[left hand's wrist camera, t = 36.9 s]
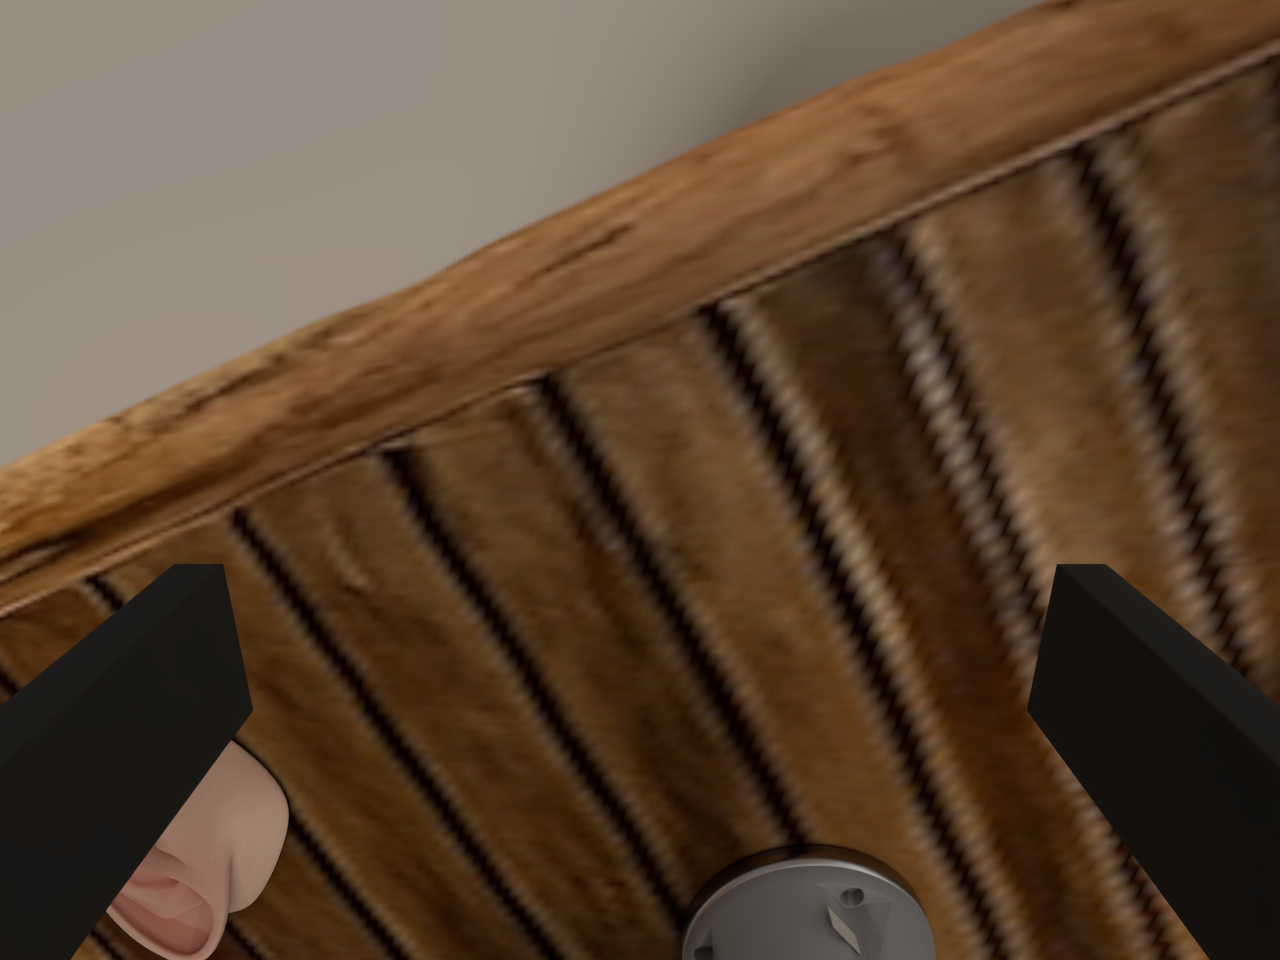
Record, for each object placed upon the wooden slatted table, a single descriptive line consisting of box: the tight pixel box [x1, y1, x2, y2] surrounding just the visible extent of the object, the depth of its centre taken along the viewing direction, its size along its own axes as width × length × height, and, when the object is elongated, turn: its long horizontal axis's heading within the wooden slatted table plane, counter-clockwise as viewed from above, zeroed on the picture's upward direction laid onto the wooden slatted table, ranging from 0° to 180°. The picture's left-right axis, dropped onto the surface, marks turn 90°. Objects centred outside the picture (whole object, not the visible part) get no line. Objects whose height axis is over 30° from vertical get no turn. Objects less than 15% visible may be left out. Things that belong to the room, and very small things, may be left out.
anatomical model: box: [106, 740, 289, 960], centre depth 44 cm, size 13×4×12 cm
